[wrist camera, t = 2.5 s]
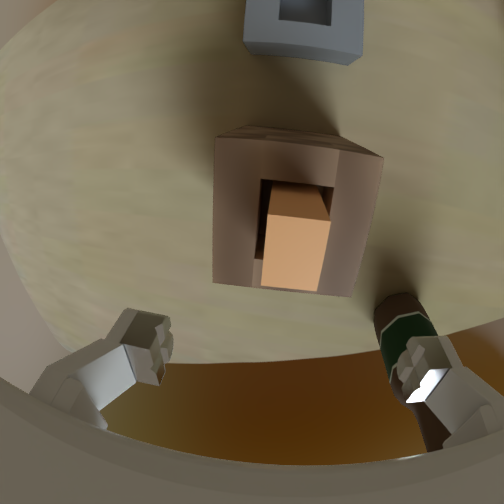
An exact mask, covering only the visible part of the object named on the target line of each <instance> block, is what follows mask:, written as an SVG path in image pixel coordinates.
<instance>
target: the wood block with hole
mask: <svg viewBox="0 0 504 504" xmlns="http://www.w3.org/2000/svg"><path fill="white" fill-rule="evenodd" d="M383 162H384V158H383V157H381V156H379V155H377V154H375V153H373V152H372V151H370V150H368V149H366V148H364V147H362V146H360V145H358V144H355V143H353V142H351V141H349V140H347V139H345V138H343V137H340V136H334V135H328V134H321V133H314V132H307V131H299V130H290V129H280V128H270V127H258V126H243V127H241V128H238V129H235V130H233V131H230V132H227V133H225V134H222V135H220V136H217V137H215V154H214V185H213V283H219V284H227V285H236V286H244V287H253V288H262V289H271V290H280V291H290V292H299V293H310V294H320V295H331V296H342V297H351V296H352V293H353V289H354V286H355V283H356V279H357V276H358V272H359V269H360V265H361V262H362V258H363V254H364V250H365V246H366V243H367V239H368V235H369V230H370V226H371V222H372V218H373V213H374V209H375V204H376V199H377V194H378V189H379V184H380V179H381V173H382V168H383ZM273 180H279V181H288V182H297V183H305V184H313V185H316V186H317V188H318V190H319V193H320V195H321V198H322V200H323V203H324V205H325V208H326V210H327V213H328V215H329V218H330V220H331V225H330V230H329V235H328V240H327V245H326V250H325V255H324V260H323V265H322V269H321V274H320V279H319V283H318V287H317V291H308V290H298V289H288V288H279V287H270V286H261V278H262V268H263V258H264V248H265V238H266V227H267V217H268V209H269V203H270V197H271V190H272V184H273Z"/></svg>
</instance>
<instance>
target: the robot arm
mask: <svg viewBox="0 0 504 504" xmlns="http://www.w3.org/2000/svg"><path fill="white" fill-rule="evenodd" d="M170 327H171V322H170V317H168V316H165V315H160V314H155V313H151V312H146V311H139V310H135V309H131V308H127V309H125V310H124V311H123V312H122V314H121V315H120V317H119V318H118V320H117V321H116V323H115V324H114V326H113V327H112V329H111V330H110V332H109V334H108V335H107V337H106V338H105V339H99V340H97V341H95V342H93V343H92V344H90V345H88V346H86V347H84V348H82V349H80V350H78V351H76V352H74V353H72V354H71V355H68V356H66V357H65V358H63V359H61V360H59V361H57V362H55V363H53V364H51V365H49V366H47V367H46V369H45V370H44V371H43V373H42V374H41V376H40V378H39V379H38V381H37V382H36V384H35V385H34V387H33V388H32V390H31V391H30V393H29V394H28V393H26V392H24V391H22V390H21V389H19V388H17V387H15V386H14V385H12V384H10V383H9V382H7V381H6V380H4V379H3V378H1V377H0V504H504V397H503V396H502V395H500V394H499V393H498V392H497V391H496V390H494V389H493V388H492V387H491V386H489V385H488V384H487V383H486V382H485V381H483V380H482V379H481V378H480V377H478V376H477V375H476V374H475V373H473V372H472V371H471V370H470V369H468V368H467V367H463V365H462V363H461V361H460V359H459V357H458V355H457V353H456V351H455V349H454V347H453V345H452V343H451V342H450V340H449V338H448V337H447V336H424V337H411V338H410V339H409V340H408V342H407V344H406V346H407V350H405V351H404V352H403V353H401V355H400V357H399V359H398V363H397V374H398V378H399V379H400V380H401V381H402V382H403V383H404V384H403V386H402V392H403V395H404V398H405V402H406V403H409V402H421V401H425V403H426V405H427V406H428V407H429V408H430V409H431V410H432V412H433V413H434V414H435V415H436V416H437V417H438V419H439V420H440V421H441V422H442V423H443V425H444V426H445V427H446V428H447V429H448V430H449V432H450V433H451V434H452V435H451V436H450V437H449V438H448V439H447V440H445V441H444V443H443V449H441V450H437V451H433V452H429V453H424V454H420V455H415V456H410V457H404V458H398V459H392V460H385V461H377V462H369V463H359V464H347V465H327V466H288V465H269V464H256V463H246V462H237V461H229V460H222V459H216V458H210V457H204V456H198V455H194V454H188V453H184V452H179V451H175V450H171V449H167V448H163V447H158V446H155V445H151V444H148V443H144V442H141V441H138V440H134V439H131V438H128V437H125V436H122V435H119V434H116V433H113V432H111V431H108V430H106V428H107V426H108V425H107V423H106V421H105V419H104V418H103V416H102V415H101V413H100V412H99V410H101V409H102V408H103V407H105V406H106V405H107V404H109V403H110V402H111V401H113V400H114V399H115V398H116V397H118V396H119V395H120V394H122V393H123V392H124V391H126V390H127V389H128V388H129V387H130V386H132V385H133V384H135V383H136V381H139V382H143V383H148V384H152V385H157V386H160V384H161V381H162V378H163V376H164V373H165V367H164V364H165V363H167V362H169V361H170V358H171V355H172V351H173V335H172V334H171V332H170V331H169V329H170Z"/></svg>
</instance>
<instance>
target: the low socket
mask: <svg viewBox="0 0 504 504" xmlns="http://www.w3.org/2000/svg"><path fill="white" fill-rule="evenodd" d="M363 31H364V0H246V10H245V21H244V33H243V42H244V44H245V46H246V47H247V49H248V51H249V52H250V54H256V55H273V56H285V57H295V58H304V59H311V60H318V61H325V62H331V63H337V64H342V65H347V66H348V65H349V64H351V63H352V62H354V61H355V60H357V59H358V58H360V57H361V56H362V54H363Z"/></svg>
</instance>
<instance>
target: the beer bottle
mask: <svg viewBox="0 0 504 504" xmlns="http://www.w3.org/2000/svg"><path fill="white" fill-rule="evenodd" d="M374 327H375V332H376V336H377V339H378V342H379V346H380V349H381V352H382V356H383V359H384V363H385V366H386V370H387V374H388V378H389V381H390V385H391V387H392V390H393V393H394V396H395V397H396V398H397V399H398V400H399V402H400V403H401V404H402V405H404V406H405V407H407V408H408V409H410V410H412V411H413V413H414V415H415V417H416V419H417V421H418V424H419V427H420V430H421V433H422V436H423V439H424V443H425V445H426V449H427V452H428V453H429V452H433V451H437V450H441V449H443V443H444V441H445V440H447V439H448V438H449V437H450V436H451V435H452V434H451V433H450V432H449V430H448V429H447V428H446V427H445V426H444V425H443V423H442V422H441V421H440V420H439V419H438V417H437V416H436V415H435V414H434V413H433V412H432V410H431V409H430V408H429V407H428V406H427V405H426V403H425V401H421V402H409V403H406V402H405V398H404V395H403V392H402V386H403V384H404V383H403V382H402V381H401V380H400V379H399V378H398V374H397V363H398V359H399V357H400V355H401V353H403V352H404V351H405V350H407V346H406V344H407V342H408V340H409V339H410V338H411V337H424V336H438V334H437V332H436V330H435V329H434V327H433V325H432V323H431V321H430V319H429V317H428V315H427V313H426V311H425V310H424V308H423V306H422V305H421V303H420V302H419V301H418V300H416V299H415V298H414V297H412V296H411V295H410V294H409V293H403V294H398V295H393V296H389V297H388V298H387V299H386V300H385V301H384V302H383V303H382V304H381V305H380V306H379V307H378V308H377V309H376V310H375V321H374Z"/></svg>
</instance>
